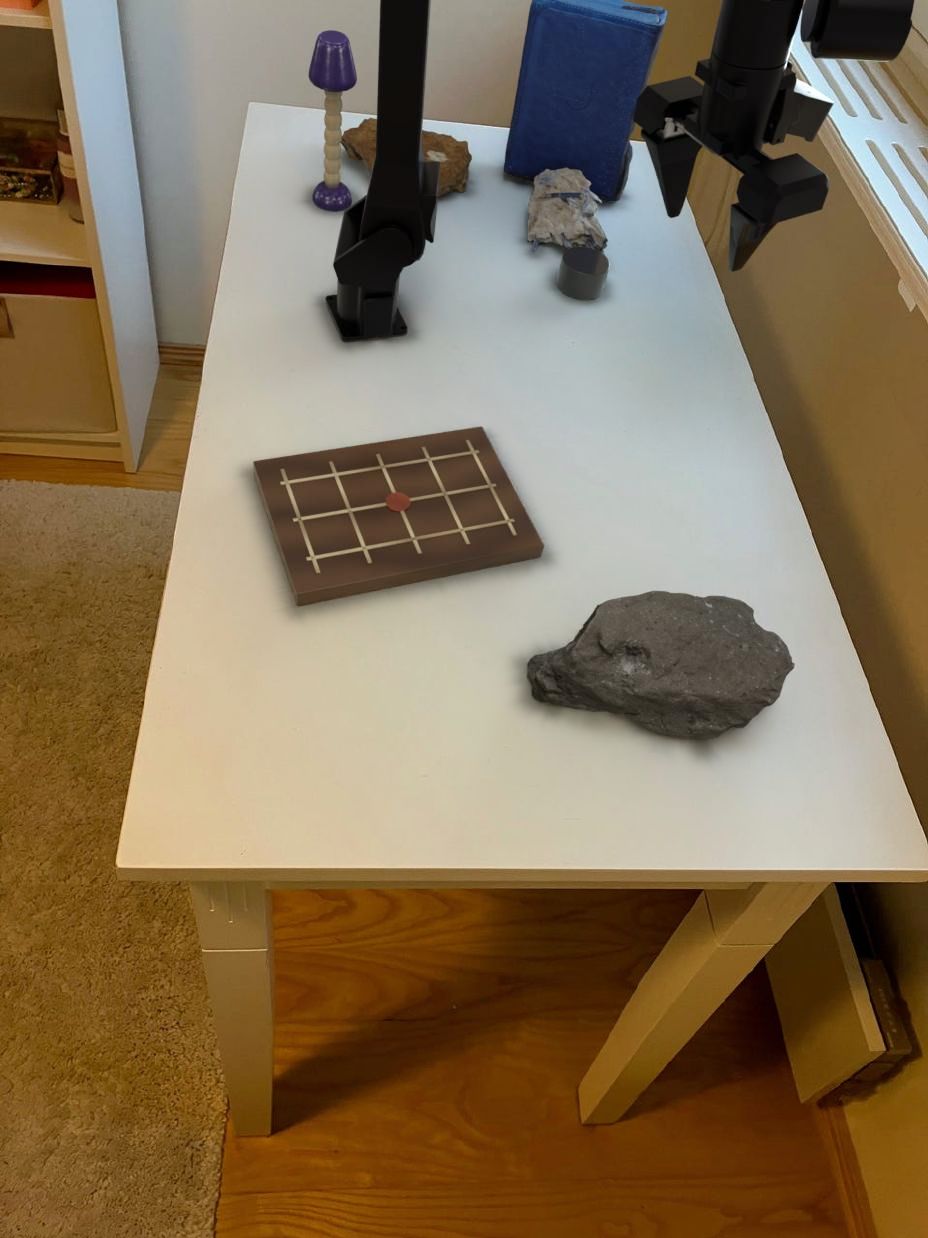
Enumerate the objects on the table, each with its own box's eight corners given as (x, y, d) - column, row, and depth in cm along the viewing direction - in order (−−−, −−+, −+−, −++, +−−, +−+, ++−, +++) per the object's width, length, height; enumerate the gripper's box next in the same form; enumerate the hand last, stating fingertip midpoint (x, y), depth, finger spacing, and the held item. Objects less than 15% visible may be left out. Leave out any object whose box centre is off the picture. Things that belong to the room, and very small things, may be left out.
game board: (253, 473, 78) (252, 459, 77) (479, 438, 85) (482, 424, 83) (297, 606, 71) (297, 593, 70) (541, 557, 77) (545, 544, 76)
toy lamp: (349, 216, 102) (356, 50, 89) (305, 210, 102) (305, 42, 89) (353, 192, 105) (361, 28, 92) (311, 186, 105) (312, 20, 91)
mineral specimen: (523, 188, 111) (530, 153, 107) (594, 198, 111) (603, 164, 108) (527, 263, 102) (535, 228, 99) (603, 274, 103) (614, 239, 99)
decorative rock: (328, 188, 106) (462, 215, 107) (330, 152, 102) (468, 182, 103) (345, 131, 112) (471, 158, 113) (347, 96, 109) (477, 125, 110)
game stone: (548, 273, 101) (555, 247, 99) (591, 269, 103) (598, 244, 100) (566, 302, 98) (573, 276, 96) (610, 298, 100) (617, 272, 98)
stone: (549, 752, 64) (568, 610, 61) (516, 698, 72) (532, 570, 69) (796, 751, 68) (827, 618, 64) (739, 700, 76) (764, 579, 73)
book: (624, 190, 113) (677, 3, 98) (618, 212, 110) (672, 23, 94) (506, 160, 114) (540, -31, 98) (497, 182, 110) (531, -13, 95)
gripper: (917, 84, 70) (844, 275, 82) (758, -12, 80) (714, 172, 92) (797, 115, 66) (740, 309, 79) (646, 11, 76) (616, 198, 89)
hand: (703, 242), depth 85 cm, fingers open, 9 cm apart
